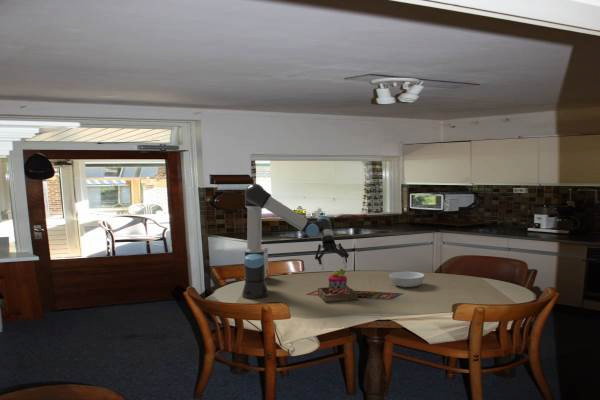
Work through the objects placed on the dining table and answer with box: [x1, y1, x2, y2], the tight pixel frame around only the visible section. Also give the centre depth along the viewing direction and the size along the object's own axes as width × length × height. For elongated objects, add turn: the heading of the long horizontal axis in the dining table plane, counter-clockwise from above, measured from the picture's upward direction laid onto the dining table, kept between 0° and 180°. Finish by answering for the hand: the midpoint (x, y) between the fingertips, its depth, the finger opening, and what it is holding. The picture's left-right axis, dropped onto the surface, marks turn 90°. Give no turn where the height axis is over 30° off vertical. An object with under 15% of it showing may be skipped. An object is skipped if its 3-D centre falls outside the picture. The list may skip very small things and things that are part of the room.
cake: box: [327, 268, 348, 295], centre depth 260 cm, size 10×11×15 cm
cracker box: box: [261, 246, 270, 280], centre depth 311 cm, size 14×6×21 cm, turn 160°
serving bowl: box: [388, 271, 426, 288], centre depth 283 cm, size 21×21×7 cm
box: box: [317, 285, 359, 304], centre depth 261 cm, size 18×18×4 cm
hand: (334, 268), depth 267 cm, fingers open, 13 cm apart
